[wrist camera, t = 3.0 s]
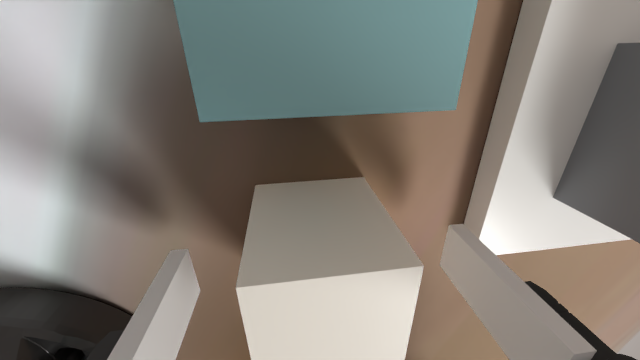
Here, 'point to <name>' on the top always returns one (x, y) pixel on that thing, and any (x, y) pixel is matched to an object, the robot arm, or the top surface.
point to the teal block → (323, 56)
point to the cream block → (326, 274)
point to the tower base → (564, 131)
